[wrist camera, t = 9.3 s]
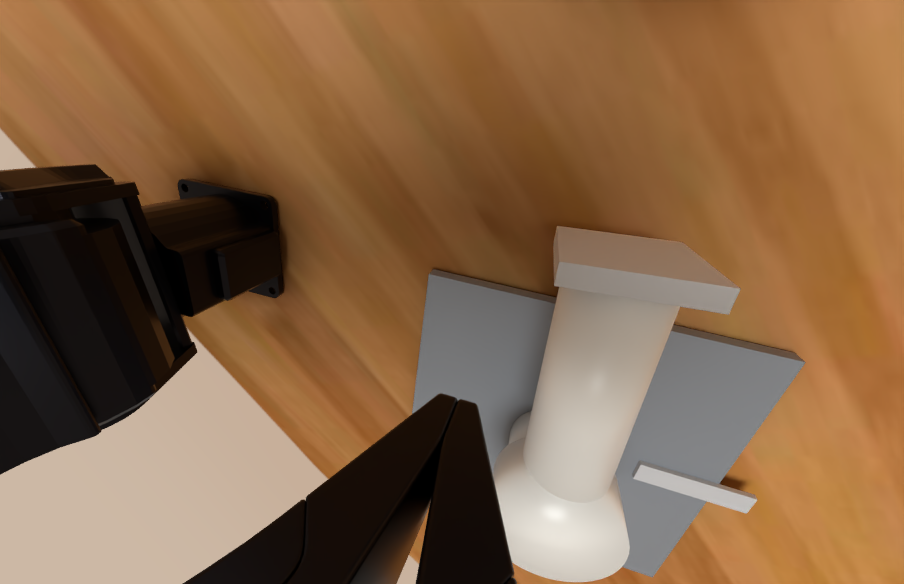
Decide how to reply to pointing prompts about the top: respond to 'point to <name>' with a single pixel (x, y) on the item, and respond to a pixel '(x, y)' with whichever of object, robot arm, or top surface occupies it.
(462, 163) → the top surface
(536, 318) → the grey square panel
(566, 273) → the elbow
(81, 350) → the robot arm
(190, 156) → the top surface
